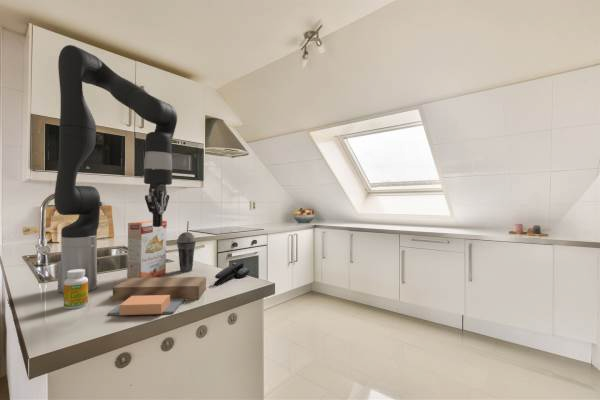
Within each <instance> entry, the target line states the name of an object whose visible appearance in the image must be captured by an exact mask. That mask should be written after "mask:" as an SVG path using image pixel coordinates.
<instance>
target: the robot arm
mask: <svg viewBox="0 0 600 400" xmlns="http://www.w3.org/2000/svg"><path fill="white" fill-rule="evenodd" d="M57 62H58V64H57V65H58V66H57V68H58V79H59V90H60V92H59V93H60V94H59V95H60V109H59V111H60V115H59V118H60V119H59V127H58V128H59V129H58V130H59V131H58V133H59V136H58V137H59V138H58V140H59V141H58V144H59V147H58V148H59V149H58V166H57V172H56V173H57V174H56V179H55V180H56V181H55V186H54V196H53V197H54V198H53V199H54V200H53V201H54V207H55V211H56V212H57V213H58V214H59V215H62V216H76V215H78V218H77V219H76V220H75V221H73V222H72V223H70V224H68V225H65V226H64V227H62V228H61V229H60V230H61V231H60V232H61V233H60V236H61V237H60V239H61V242H60V243H61V245H60V247H61V248H60V249H61V250H60V251H61V253H60V257H61V259H60V260H59V261H58V262H57V293H62V294H64V281H65V280H66V279H68V277H67V271H70V270H74V269H85V275H84V277H87V278H88V292H89V291H93V290H95V289H96V288H97V286H98V284H97V282H98V277H97V276H98V228H99V225H100V214H101V213H100V210H101V196H100V193H99V191H98V189H97V188H96V187H94V186H92V185H91V186H90V185H89V186H88V185H77V184H76V181H77V176H78V172H79V170H80V168H81V166H82V165H83V163H85V161H86V160H87V158H88V157H89V156H90V155H91V154H92V152H93V150H94V149H95V146H96V143H97V142H96V141H97V140H96V136H97V124H96V121H95V119H94V116H93V114H92V113H91V110H90V108H89V106H88V104H87V102H86V99H85V97H84V93H83V92H84V91H83V83H85V84H88V85H93V86H95V87H99V88H100V89H103V90H104V91H107V92H108V93H110V95H111V96H112V97H113V98H114V99H115V100H116V101H117V102H119V103H120V104H122V105H124V106H126V107H127V108H129V109H131V110H132V111H134V112H135V113H136V115H138V117H140V118H141V119H143V120H145V121H147V122H148V123H151V124H154V125H155V129H154V131H150V132H148V133H147V134H146V136H145V148H144V149H145V151H144V153H145V154H144V162H143V163H144V164H143V165H144V166H143V167H144V168H143V169H144V170H143V183H144V184H145V185H149V188H148V195H147V194H145V195H144V200H145V202H146V207H147V209H148V212H149V213H151V214H152V221H153V227H160V226H162V220H163V215H164V212H166V211H167V207H168V204H169V200H170V195H169V194H168V191H167V185H168V186H170V185H172V184H173V156H172V152H173V151H172V149H173V148H172V147H173V146H172V144H173V143H172V141H173V137H174V135H175V131H176V127H177V122H178V113H177V111H176V109H175V107H174V106H173V105H172V104H170V103H167V102H165V101H163V100H161V99H159V98H157V97H155V96H153V95H151V94H150V93H149V92H148V91H146V90H145V89H143V88H142V87H140V86H138V85H137V84H135V83H133V82H131V81H130V80H128V79H126V78H124V77H122V76H121V75H119V74H117V72H115V71H113V70H112V69H111V67H109V66H108V65H107V64H106V63H105V62H104V61H103V60H101V59H100V58H99V57H97V56H96V55H94V54H93V53H90V52H88V51H86V50H84V49H82V48H80V47H78V46H76V45H72V44H67V45H65V46H64V47H62V49H61V50H60V53H59V55H58V61H57Z"/></svg>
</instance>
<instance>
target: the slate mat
mask: <svg viewBox="0 0 600 400" xmlns="http://www.w3.org/2000/svg"><path fill="white" fill-rule="evenodd" d="M125 301H126V300H125ZM184 301H185V300H184V298H177V299H170V304H169V306H168V307H167V308H166V309H165V310H164V311H163V312H162V314H161V315H173V314H175V312H176V311H177V310H178V308H180V306H181V305H182V304H183V302H184ZM123 302H124V301H121V303H120V304H122V303H123ZM120 304H118V305H117V306H115V307H114V308H113V309H112V310H110V311H109V312H108V313H107V316H120V315H119V305H120ZM139 315H143V316H144V315H146V314H139ZM139 315H138V316H139Z"/></svg>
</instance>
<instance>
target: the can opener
mask: <svg viewBox="0 0 600 400" xmlns="http://www.w3.org/2000/svg"><path fill="white" fill-rule="evenodd" d="M249 273H250V269H249V268H247V267H244V262H243V261H242V260H239V261H237V262H233V263H230V265H229V266H227V267H225V268H224V269H222V270H221V271H219V272H218V273H216V274H215V276H214V278H215V279H217V280H216V281H214V285H216V286H221V285H222V284H223V283H225V282H227V281H228V280H230V279H231V278H232V277H236V278H241V279H242V278H245V277H247V276H248V275H249Z"/></svg>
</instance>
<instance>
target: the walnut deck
mask: <svg viewBox="0 0 600 400" xmlns="http://www.w3.org/2000/svg"><path fill="white" fill-rule="evenodd" d="M206 289H207V276H177V277H172V276H171V277H169V276H168V277H155V278H128V279H127V278H126V279H124V280H122V281H121V282H119V283H118V284H116V285H115V286H112V302H124V301H125V300H127V299H128V298H130V297H131V296H147V295H170V299H177V298H184V301H189V300H191V301H192V300H193V301H195V300H200V298H202V295H203V294H204V293H205V291H206Z"/></svg>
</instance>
